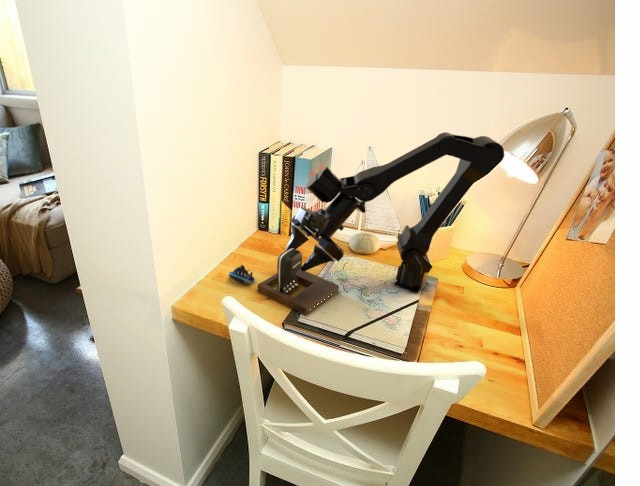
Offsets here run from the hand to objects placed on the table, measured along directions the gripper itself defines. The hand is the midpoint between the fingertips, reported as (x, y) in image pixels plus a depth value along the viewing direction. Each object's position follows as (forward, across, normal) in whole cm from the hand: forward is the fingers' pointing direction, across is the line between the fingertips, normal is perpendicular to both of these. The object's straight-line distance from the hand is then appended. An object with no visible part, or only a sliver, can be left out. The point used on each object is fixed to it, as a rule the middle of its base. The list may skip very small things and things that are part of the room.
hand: (293, 262), depth 101 cm
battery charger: (+7, 0, +6) cm, 9 cm away
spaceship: (+14, -10, -2) cm, 17 cm away
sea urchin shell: (-16, -12, +28) cm, 34 cm away
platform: (+5, +2, +7) cm, 9 cm away
